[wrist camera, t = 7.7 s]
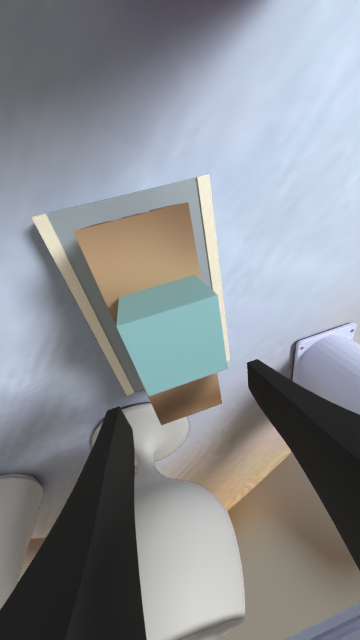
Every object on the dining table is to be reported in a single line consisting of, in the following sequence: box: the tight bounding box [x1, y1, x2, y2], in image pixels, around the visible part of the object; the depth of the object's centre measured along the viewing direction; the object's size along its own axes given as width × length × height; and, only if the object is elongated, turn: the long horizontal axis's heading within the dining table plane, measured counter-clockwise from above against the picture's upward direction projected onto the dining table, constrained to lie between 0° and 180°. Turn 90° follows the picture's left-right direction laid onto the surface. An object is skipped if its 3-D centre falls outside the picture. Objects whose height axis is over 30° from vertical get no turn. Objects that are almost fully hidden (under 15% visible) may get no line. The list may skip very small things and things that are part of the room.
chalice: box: [91, 403, 245, 640], centre depth 19 cm, size 14×14×15 cm
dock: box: [31, 174, 230, 396], centre depth 17 cm, size 16×11×2 cm
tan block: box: [73, 202, 222, 426], centre depth 14 cm, size 14×5×5 cm, turn 12°
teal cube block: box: [116, 275, 228, 396], centre depth 10 cm, size 4×4×3 cm
